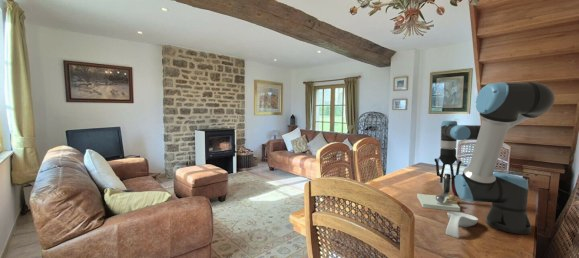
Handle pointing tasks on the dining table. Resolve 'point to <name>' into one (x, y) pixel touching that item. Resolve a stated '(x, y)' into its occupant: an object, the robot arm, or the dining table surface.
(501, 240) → the dining table surface
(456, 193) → the mug
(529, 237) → the dining table surface
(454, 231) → the spoon rest
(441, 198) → the lever
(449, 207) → the board
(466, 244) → the dining table surface
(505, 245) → the dining table surface
